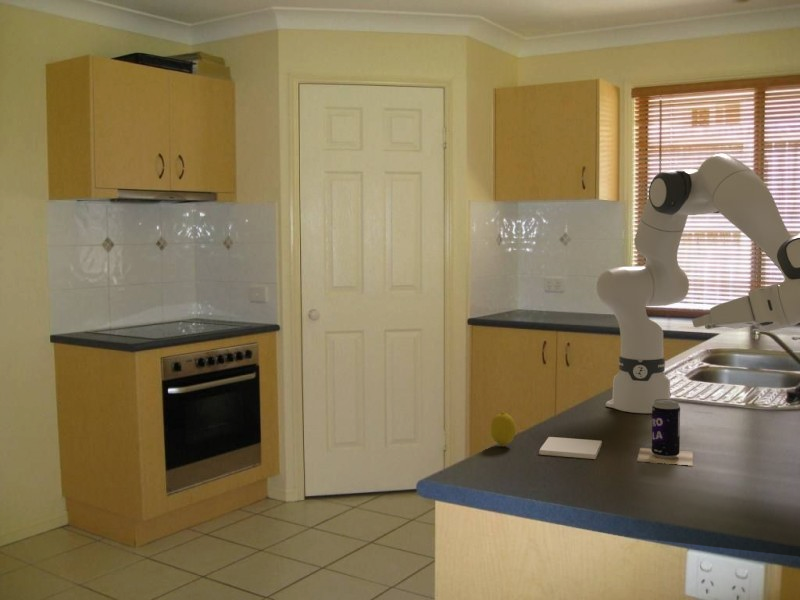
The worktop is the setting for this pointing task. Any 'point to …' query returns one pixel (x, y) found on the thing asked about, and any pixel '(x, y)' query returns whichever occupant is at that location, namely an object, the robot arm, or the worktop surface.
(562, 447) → the mat
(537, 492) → the worktop surface
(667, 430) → the beverage can
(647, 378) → the robot arm
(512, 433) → the lemon
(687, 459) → the pad
